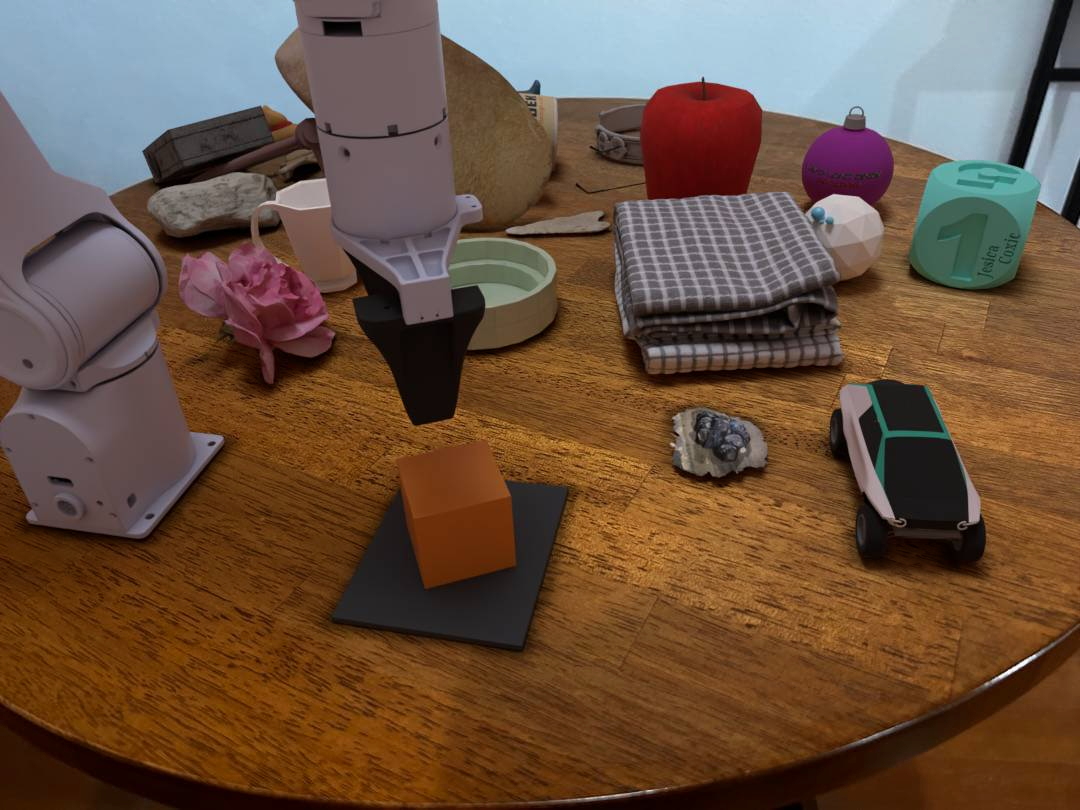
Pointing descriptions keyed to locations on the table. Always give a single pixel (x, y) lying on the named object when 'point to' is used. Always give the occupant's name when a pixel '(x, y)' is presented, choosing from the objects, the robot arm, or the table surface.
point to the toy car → (906, 469)
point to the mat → (462, 606)
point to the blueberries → (716, 443)
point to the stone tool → (565, 225)
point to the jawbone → (296, 162)
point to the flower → (257, 303)
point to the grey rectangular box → (207, 143)
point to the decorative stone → (214, 204)
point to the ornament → (848, 232)
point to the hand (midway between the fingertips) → (418, 378)
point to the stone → (471, 131)
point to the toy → (279, 125)
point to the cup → (310, 234)
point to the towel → (725, 283)
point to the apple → (699, 140)
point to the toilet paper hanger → (272, 152)
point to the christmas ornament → (848, 162)
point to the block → (457, 513)
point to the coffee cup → (545, 117)
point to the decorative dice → (973, 223)
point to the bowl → (506, 288)
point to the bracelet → (608, 139)
